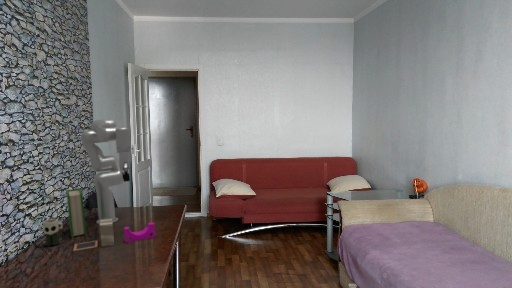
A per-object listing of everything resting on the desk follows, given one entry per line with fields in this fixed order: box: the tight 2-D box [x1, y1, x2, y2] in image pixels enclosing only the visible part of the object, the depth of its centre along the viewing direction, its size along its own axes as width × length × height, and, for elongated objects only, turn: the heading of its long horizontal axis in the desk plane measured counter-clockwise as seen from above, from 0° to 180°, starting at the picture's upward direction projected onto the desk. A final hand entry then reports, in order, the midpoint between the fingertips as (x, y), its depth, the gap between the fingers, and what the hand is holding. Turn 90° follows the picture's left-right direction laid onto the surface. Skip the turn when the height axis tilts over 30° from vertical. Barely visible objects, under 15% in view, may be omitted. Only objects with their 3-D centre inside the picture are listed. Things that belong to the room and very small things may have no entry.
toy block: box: [123, 221, 156, 244], centre depth 193 cm, size 15×6×8 cm, turn 116°
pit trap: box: [72, 239, 99, 252], centre depth 185 cm, size 10×11×1 cm
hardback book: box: [66, 188, 87, 239], centre depth 208 cm, size 18×7×24 cm, turn 30°
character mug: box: [38, 218, 64, 247], centre depth 190 cm, size 11×7×13 cm, turn 111°
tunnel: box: [99, 218, 115, 247], centre depth 189 cm, size 12×6×11 cm, turn 23°
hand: (126, 179), depth 202 cm, fingers open, 9 cm apart
